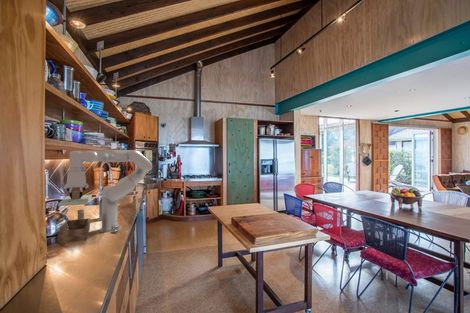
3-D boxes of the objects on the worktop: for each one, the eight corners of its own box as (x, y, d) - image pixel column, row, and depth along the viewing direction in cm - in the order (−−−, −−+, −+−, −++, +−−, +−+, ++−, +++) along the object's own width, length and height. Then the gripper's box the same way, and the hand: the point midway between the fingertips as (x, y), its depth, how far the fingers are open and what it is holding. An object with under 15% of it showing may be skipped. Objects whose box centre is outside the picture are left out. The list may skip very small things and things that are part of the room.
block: (84, 226, 170) (84, 208, 170) (83, 228, 166) (84, 209, 166) (78, 227, 168) (78, 209, 168) (77, 229, 165) (77, 210, 164)
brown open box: (89, 229, 165) (90, 218, 165) (86, 241, 142) (86, 228, 142) (65, 232, 158) (66, 220, 158) (57, 245, 135) (57, 231, 135)
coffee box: (100, 217, 195) (101, 198, 195) (109, 217, 197) (109, 198, 197) (98, 220, 187) (99, 200, 187) (107, 219, 189) (108, 200, 189)
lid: (90, 197, 164) (90, 188, 164) (86, 204, 141) (86, 194, 141) (66, 198, 158) (66, 189, 158) (58, 206, 135) (58, 196, 135)
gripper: (92, 169, 157) (91, 196, 157) (61, 169, 149) (61, 198, 150) (91, 170, 150) (90, 198, 151) (59, 170, 143) (59, 200, 143)
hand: (76, 197), depth 150 cm, fingers closed on lid, 4 cm apart
